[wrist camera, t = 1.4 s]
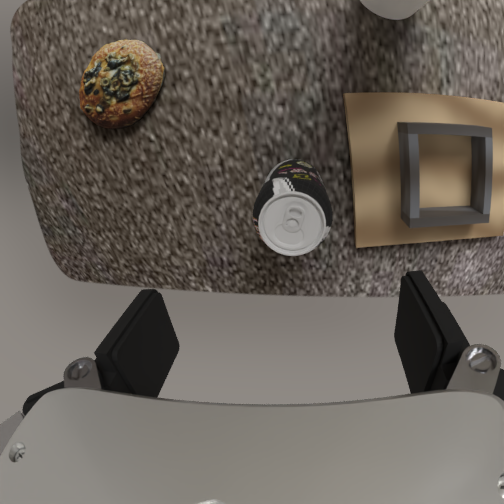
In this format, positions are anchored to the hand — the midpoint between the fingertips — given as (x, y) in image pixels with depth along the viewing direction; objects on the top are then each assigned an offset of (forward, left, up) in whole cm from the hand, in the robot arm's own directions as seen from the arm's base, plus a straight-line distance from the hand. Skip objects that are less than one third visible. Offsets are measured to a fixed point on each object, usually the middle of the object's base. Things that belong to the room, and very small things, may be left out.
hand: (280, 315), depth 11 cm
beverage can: (0, 0, -22) cm, 22 cm away
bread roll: (+15, +17, -22) cm, 32 cm away
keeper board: (+1, -16, -22) cm, 27 cm away
